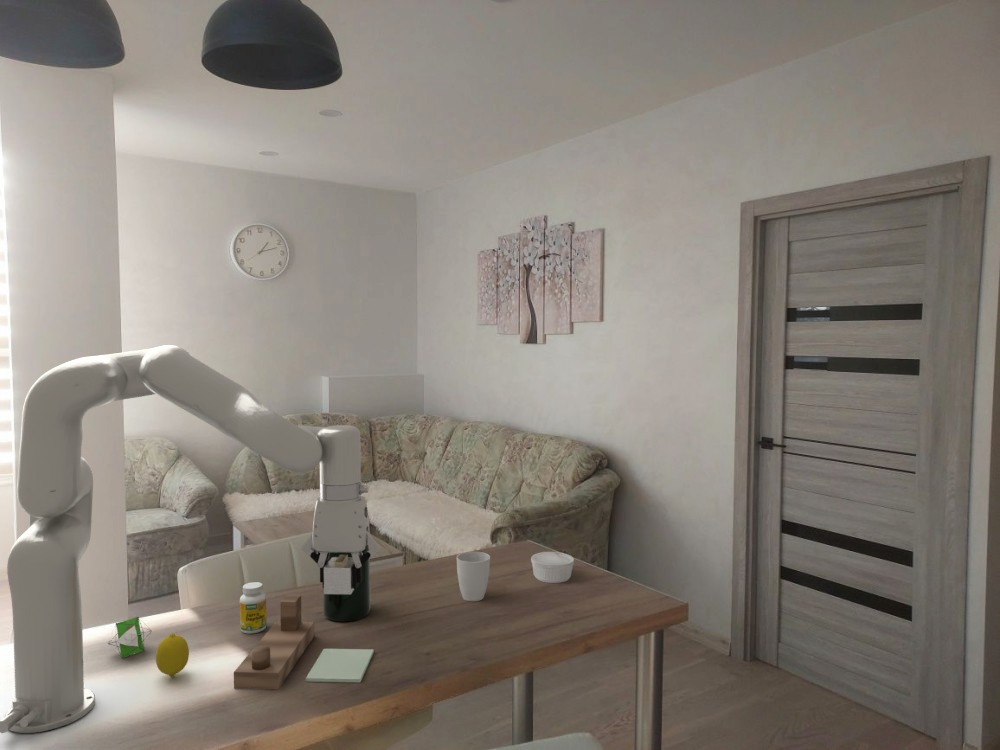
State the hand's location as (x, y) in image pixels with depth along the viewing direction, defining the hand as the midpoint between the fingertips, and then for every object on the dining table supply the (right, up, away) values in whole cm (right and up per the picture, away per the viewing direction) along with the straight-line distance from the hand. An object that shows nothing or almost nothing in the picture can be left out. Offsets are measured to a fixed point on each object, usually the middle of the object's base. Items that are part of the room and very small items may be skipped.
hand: (341, 585), depth 131 cm
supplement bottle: (-23, -15, +17) cm, 32 cm away
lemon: (-30, -16, -3) cm, 34 cm away
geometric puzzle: (-43, -15, +6) cm, 46 cm away
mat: (0, -16, +1) cm, 16 cm away
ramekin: (+44, -14, +51) cm, 69 cm away
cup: (+24, -14, +36) cm, 46 cm away
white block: (0, -1, 0) cm, 1 cm away
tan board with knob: (-13, -16, +3) cm, 21 cm away
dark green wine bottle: (-5, -15, +26) cm, 30 cm away
